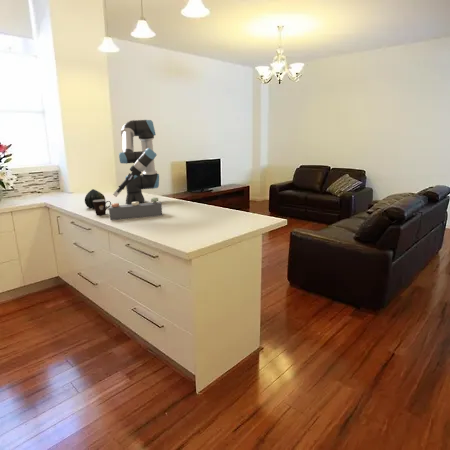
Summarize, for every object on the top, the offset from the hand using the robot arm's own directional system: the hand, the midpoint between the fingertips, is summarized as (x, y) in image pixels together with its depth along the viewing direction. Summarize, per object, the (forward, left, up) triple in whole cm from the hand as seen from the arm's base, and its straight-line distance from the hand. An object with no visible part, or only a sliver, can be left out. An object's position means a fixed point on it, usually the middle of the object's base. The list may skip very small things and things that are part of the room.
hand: (114, 195), depth 225 cm
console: (-10, +8, -16) cm, 20 cm away
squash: (-12, -46, -16) cm, 50 cm away
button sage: (-20, +16, -9) cm, 27 cm away
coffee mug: (-2, -20, -16) cm, 26 cm away
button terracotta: (0, 0, -9) cm, 9 cm away
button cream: (-10, +8, -9) cm, 16 cm away
